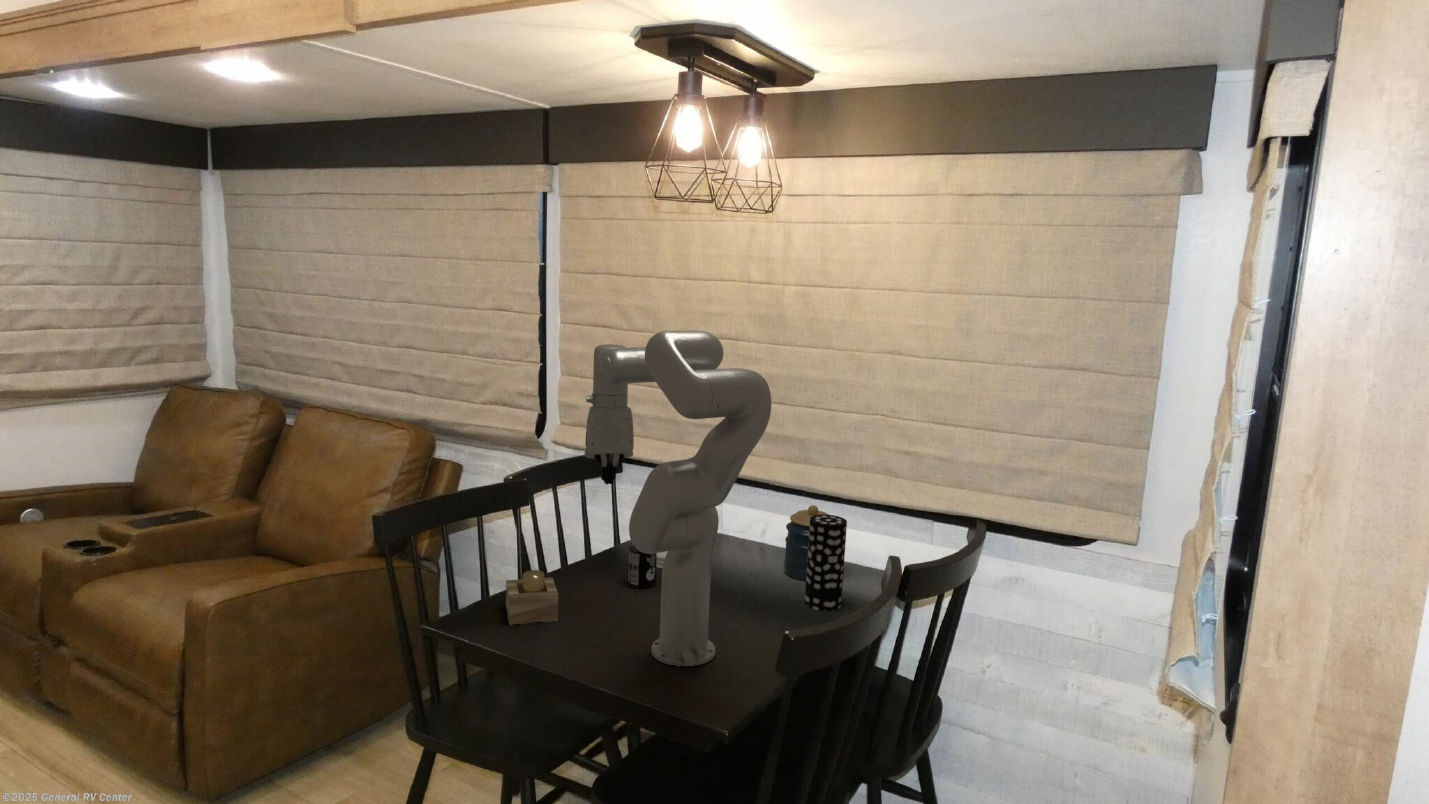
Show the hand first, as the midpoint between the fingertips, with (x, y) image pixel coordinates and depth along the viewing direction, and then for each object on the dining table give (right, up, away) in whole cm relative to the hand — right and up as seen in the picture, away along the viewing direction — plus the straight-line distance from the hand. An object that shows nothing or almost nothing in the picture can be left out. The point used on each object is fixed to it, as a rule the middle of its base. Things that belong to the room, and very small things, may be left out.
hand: (608, 482), depth 187 cm
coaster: (+12, -24, +29) cm, 40 cm away
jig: (-16, -28, -6) cm, 32 cm away
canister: (+48, -26, +26) cm, 60 cm away
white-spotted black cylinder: (+49, -29, +7) cm, 57 cm away
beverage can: (+6, -26, +14) cm, 30 cm away
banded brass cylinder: (-15, -27, -6) cm, 31 cm away
